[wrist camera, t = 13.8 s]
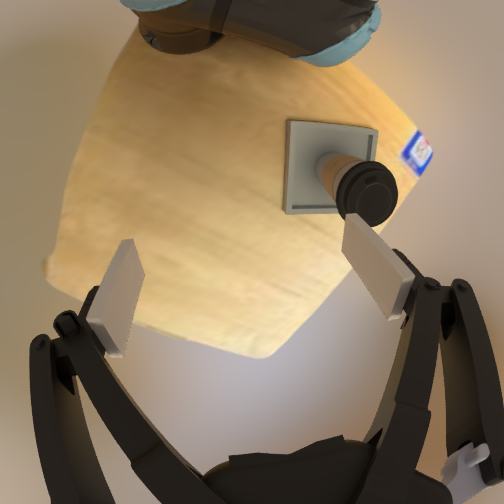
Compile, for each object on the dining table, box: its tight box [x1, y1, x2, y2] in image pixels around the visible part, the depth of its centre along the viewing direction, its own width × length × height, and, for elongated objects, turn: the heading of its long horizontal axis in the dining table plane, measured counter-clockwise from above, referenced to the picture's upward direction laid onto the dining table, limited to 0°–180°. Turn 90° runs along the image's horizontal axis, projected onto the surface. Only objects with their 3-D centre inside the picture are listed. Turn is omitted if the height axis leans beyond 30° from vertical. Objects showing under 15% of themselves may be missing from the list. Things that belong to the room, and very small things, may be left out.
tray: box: [283, 120, 378, 215], centre depth 44 cm, size 16×16×2 cm
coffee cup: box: [315, 152, 398, 227], centre depth 38 cm, size 9×9×15 cm
